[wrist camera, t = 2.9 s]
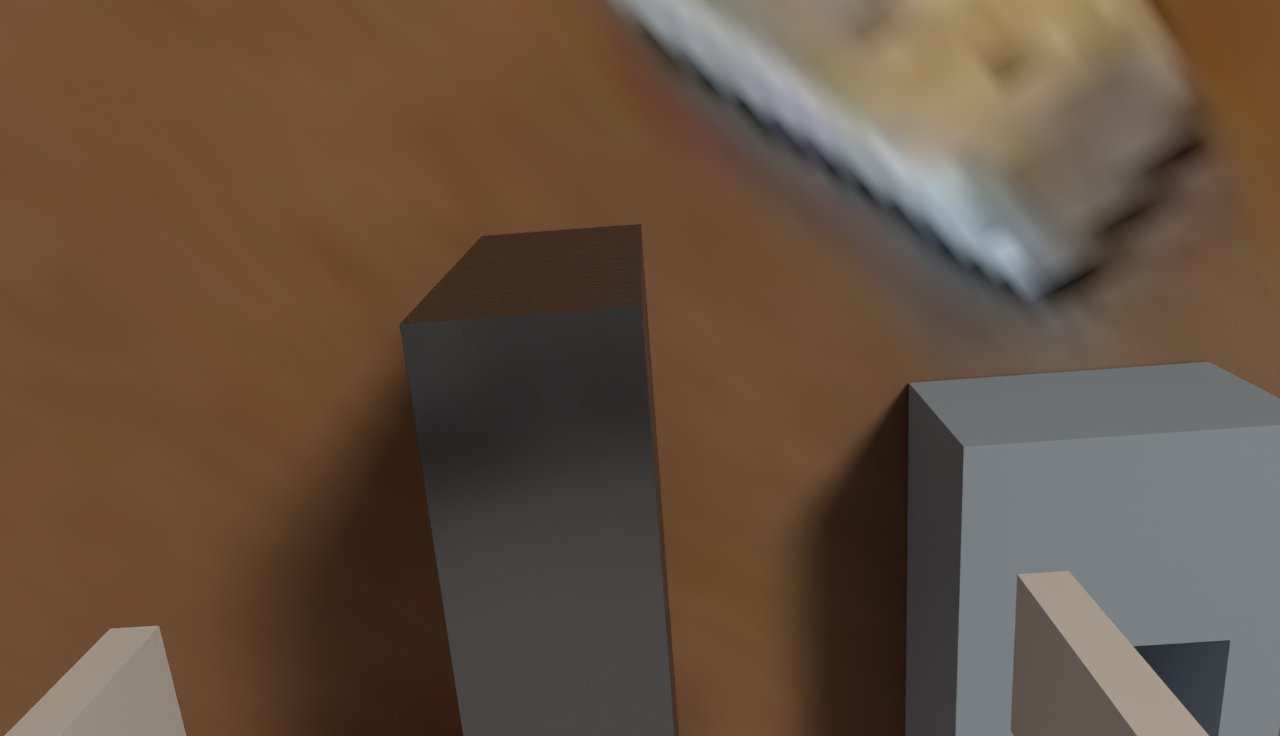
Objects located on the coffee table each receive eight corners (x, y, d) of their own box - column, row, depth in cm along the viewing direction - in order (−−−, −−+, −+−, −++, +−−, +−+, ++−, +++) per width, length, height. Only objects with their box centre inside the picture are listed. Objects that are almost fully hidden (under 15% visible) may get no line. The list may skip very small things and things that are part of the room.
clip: (557, 653, 25) (507, 1020, 15) (506, 209, 21) (398, 324, 12) (673, 646, 25) (695, 1009, 15) (640, 199, 21) (641, 307, 12)
